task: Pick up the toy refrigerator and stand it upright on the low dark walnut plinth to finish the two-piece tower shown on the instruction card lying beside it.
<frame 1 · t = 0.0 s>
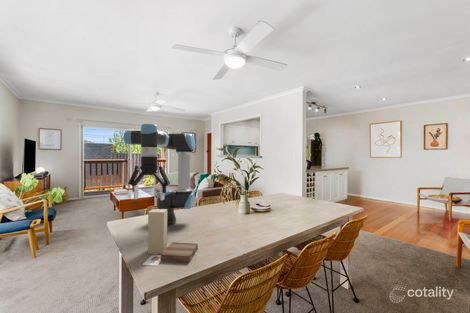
hand: (149, 199, 104), 28 cm above the table, fingers open, 13 cm apart
instruction card: (154, 260, 100), on the table
walnut plinth: (180, 254, 106), on the table
toy refrigerator: (158, 250, 110), on the table
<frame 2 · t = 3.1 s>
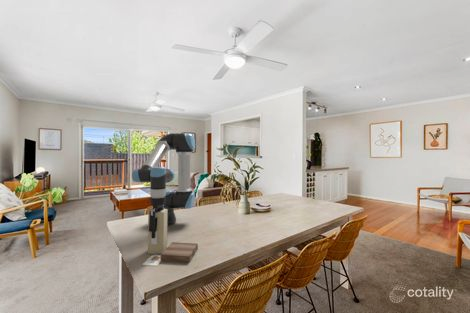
hand: (157, 240, 110), 5 cm above the table, fingers closed on toy refrigerator, 7 cm apart
toy refrigerator: (158, 250, 111), on the table, touching gripper
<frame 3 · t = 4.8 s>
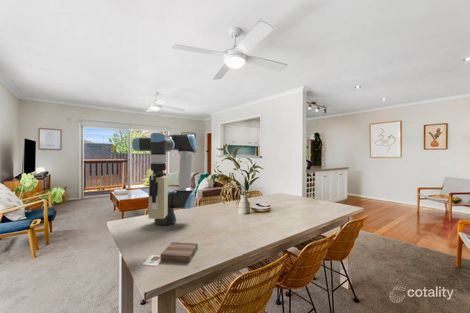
hand: (158, 206, 110), 23 cm above the table, fingers closed on toy refrigerator, 7 cm apart
toy refrigerator: (158, 217, 111), point 17 cm above the table, touching gripper
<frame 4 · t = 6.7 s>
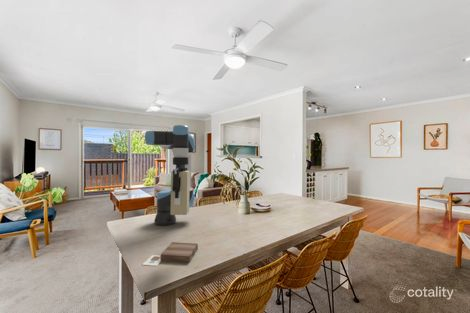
hand: (180, 202, 106), 26 cm above the table, fingers closed on toy refrigerator, 7 cm apart
toy refrigerator: (180, 213, 106), point 21 cm above the table, touching gripper
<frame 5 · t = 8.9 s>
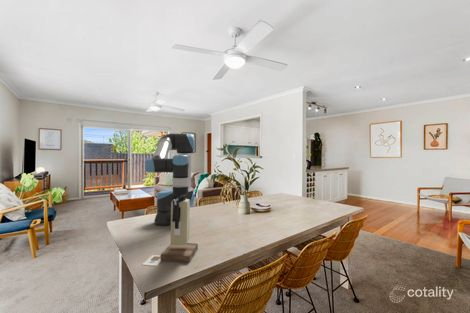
hand: (180, 231, 106), 12 cm above the table, fingers closed on toy refrigerator, 7 cm apart
toy refrigerator: (180, 242, 106), point 6 cm above the table, touching gripper
when the fingers open (9 cm above the table, at t = 10.6 s): toy refrigerator stays where it is, resting on walnut plinth.
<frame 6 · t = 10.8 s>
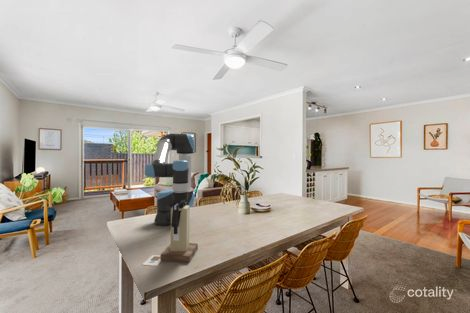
hand: (180, 235, 106), 9 cm above the table, fingers open, 10 cm apart
toy refrigerator: (180, 248, 107), point 3 cm above the table, touching walnut plinth
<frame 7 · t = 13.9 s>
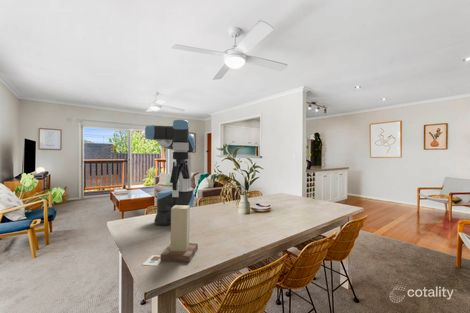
hand: (180, 194, 106), 30 cm above the table, fingers open, 13 cm apart
nothing on the table moved.
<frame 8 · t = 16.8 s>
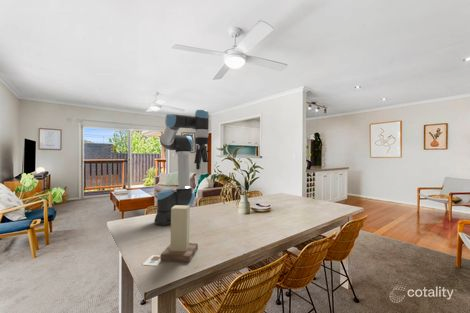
hand: (201, 174, 123), 39 cm above the table, fingers open, 13 cm apart
nothing on the table moved.
at the end: toy refrigerator inside the target area on the walnut plinth (0.5 cm from its centre), point 2.8 cm above the walnut plinth's base; toy refrigerator tilted 0°; the gripper is holding nothing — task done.
